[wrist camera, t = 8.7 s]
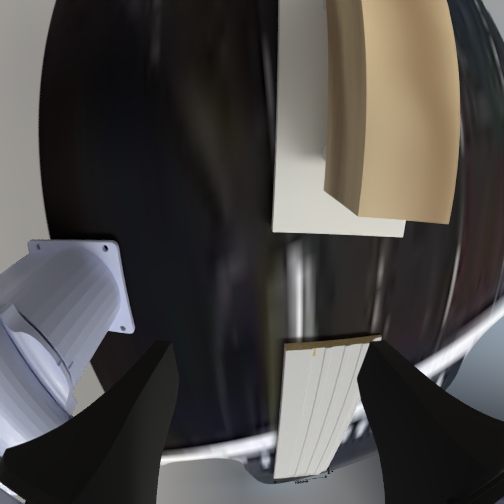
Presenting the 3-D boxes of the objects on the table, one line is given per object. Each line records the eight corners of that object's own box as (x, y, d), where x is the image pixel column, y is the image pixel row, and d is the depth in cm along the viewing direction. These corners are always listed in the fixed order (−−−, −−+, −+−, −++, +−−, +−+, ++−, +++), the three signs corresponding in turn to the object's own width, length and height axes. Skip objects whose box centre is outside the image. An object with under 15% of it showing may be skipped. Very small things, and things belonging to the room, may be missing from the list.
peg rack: (271, 226, 18) (275, 243, 15) (278, -43, 10) (282, -66, 7) (396, 232, 18) (417, 248, 15) (397, -17, 10) (415, -31, 7)
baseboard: (392, 328, 22) (283, 338, 22) (404, 348, 19) (286, 362, 20) (333, 464, 34) (273, 471, 34) (336, 478, 31) (273, 485, 31)
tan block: (323, 190, 14) (357, 216, 9) (323, -33, 8) (346, -79, 4) (396, 197, 14) (448, 224, 9) (392, -15, 9) (431, -47, 4)
